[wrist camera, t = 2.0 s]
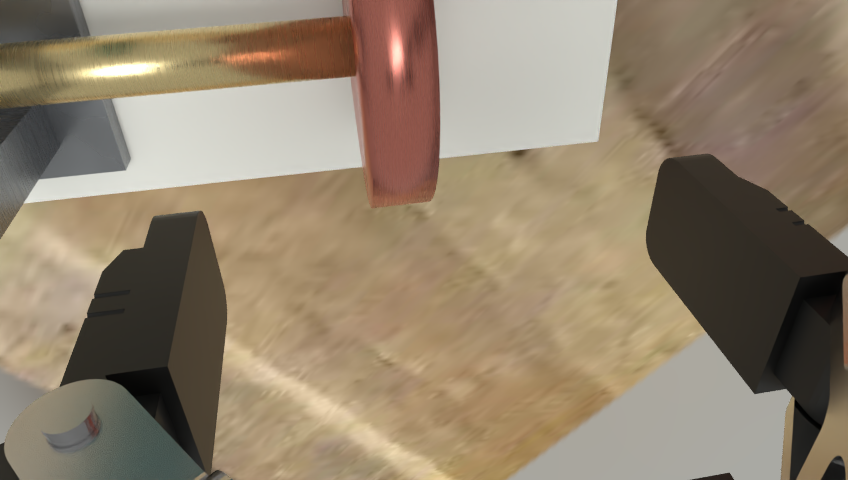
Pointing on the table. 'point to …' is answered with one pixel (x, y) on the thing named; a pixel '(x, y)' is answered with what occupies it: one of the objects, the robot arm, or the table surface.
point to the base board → (333, 100)
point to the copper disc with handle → (269, 77)
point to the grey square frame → (52, 115)
